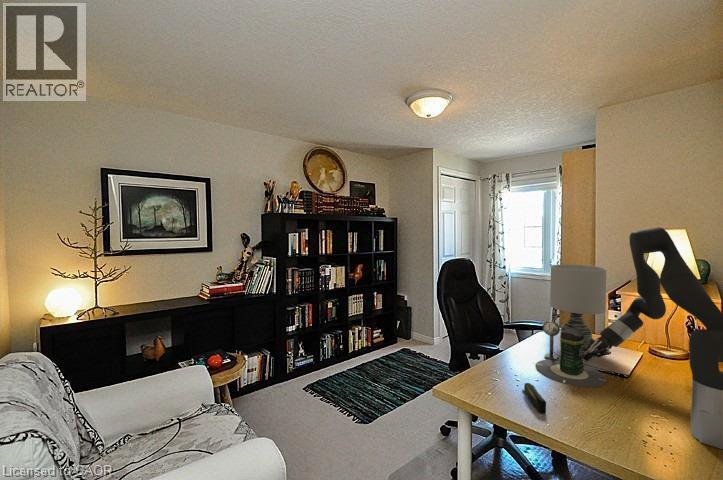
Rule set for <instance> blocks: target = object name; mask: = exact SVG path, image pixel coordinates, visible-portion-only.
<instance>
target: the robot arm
mask: <svg viewBox="0 0 723 480" xmlns="http://www.w3.org/2000/svg"><path fill="white" fill-rule="evenodd" d="M628 240H629V246H630V247H629V248H630V252H631V256H632V261H633V265H634V266H633V267H634V269H635V274H636V284H637V285H636V288H637V294H638V295H639V296H638V297H636V298H635V299H634V300H633V301H632V302H631V304H630V306H629V307H628V308H627V310H626V311H625V313H624V314H623V315H621V316H620V317H619V318H618V319H616V320H615V321H613V322H612V323H610V324H609V325H608V326H607V327H605V328H604V329H603V330H601V331H600V332H599V335H600V336H599V337H597V338H596V339H594V338H592V339H591V340H590V342H589V344H588V346H587V349H588V352H585V353H583V361H585V362H589V361H590V360H591V359H592V358H593V357H596V358H601V357H605V356H609V355H611V354H612V353H611V351H610V350H611V349H612V348H613V347H614V348H618V347H619V346H620V345H621V344H623V343H624V342H625V341H626V340H628V339H629V338H631V336H632V335H633V334H634V333H635V332H637V331H638V330H639V329H640V328H642V326H644V321H643V320H642V318H640V315H641V314H642V315H644V316H646V317H647V318H650V319H652V320H660V319H662V318H663V317H665V315H666V312H667V307H666V303H665V300H664V298H663V295H662V294H661V287H662V288H663V290H664V292H665V294H666V295H667V296H668V299H670V301H672V302H673V303H674V304H675V305H677V306H678V307H679V308H681V310H682V309H683V311H685V312H687V314H688V313H689V314H690V315H692V316H693V317H695V318H696V319H697V320H698V321H699V322H700V323H701V324H702V325H703V326H704V327H705V329H704V328H703V329H700V328H699V329H698V328H697V329H694V330H693V331H692V332H691V333H690V335H689V340H688V351H689V352H688V353H689V354H688V355H689V367H690V372H691V377H692V380H691V407H690V434H691V436H692V437H694V438H695V439H697V440H698V441H699V443H701V444H703V445H708V446H710V447H714V448H717V449H720V450H723V371H722V370H720V363H723V312H722V311H721V309H719V307H718V306H717V305H716V303H715V302H714V301H713V299H712V298H711V297H710V294H709V293H708V292H707V290H706V289H705V288H704V286H703V285H702V283H701V282H700V280H699V279H698V278H697V276H696V275H695V274H694V273H693V271H692V269H691V268H690V267H689V266H688V264H687V262H686V261H685V259H684V258H683V256H682V255H681V253H680V251H679V250H678V248H677V246H676V244H675V242H674V241H673V239H672V237H671V236H670V234H669V232H668V231H667V230H666V229H664V228H663V227H651V228H645V229H644V228H643V229H638V230H634V231H632V232H630V234H629V239H628ZM658 252H660V253H661V254H662V255H663V258H664V264H663V266H662V269H661V273H660V274H658V273H657V271H656V270H654V269H653V267H651V265H650V264H649V263H648V262H647V260H645V254H651V253H658ZM659 275H660V276H659Z"/></svg>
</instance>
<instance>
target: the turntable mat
mask: <svg viewBox="0 0 723 480" xmlns="http://www.w3.org/2000/svg"><path fill="white" fill-rule="evenodd" d="M534 365H535V366H534V367H535V370H536V371H537V372H538V373H540V374H541V375H542V376H544V377H546V378H548V379H550V380H551V381H555V382H558V383H561V384H565V385H569V386H572V387H573V386H575V387H581V388H582V387H583V388H596V387H597V388H598V387H601V386H603V385H605V384H606V383H607V378H606V376H605V375H604V374H603V373H602V372H600V371H599V370H597V369H595V368H594V367H591V366H589V367H588V365H586V366H585V364H583V365H584V371H583V372H582V373H581V374H580V375H577V376H575V375H569V374H566V373H564V372H562V371H561V370H560V359H557V360H552V359H542V360H539V361H537V362H536V363H535V364H534Z"/></svg>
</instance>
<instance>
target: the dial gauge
mask: <svg viewBox="0 0 723 480" xmlns="http://www.w3.org/2000/svg"><path fill="white" fill-rule="evenodd" d="M542 330H543V332H544V333H545V334H546V335H548V336H549V352H546V353H545V355H544V359H545V360H547V359H552V360H557V359H558V358H559V355H557V354H554V339H555V338H554V337H555V336H557V335H558V334H559V333H560V332H561V326H560V325H559V324H558V323H557V322H556V321H553V320H547V321H545V322H544V323H543V324H542ZM558 360H559V359H558Z"/></svg>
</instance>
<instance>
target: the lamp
mask: <svg viewBox="0 0 723 480" xmlns="http://www.w3.org/2000/svg"><path fill="white" fill-rule="evenodd" d="M549 290H550V296H549V297H550V298H549V299H550V300H549V301H550V302H549V305H550V307H551V308H552V309H555V310H557V311H562V312H567V313H569V318H568V320H567V321H565V322H564V323H563V324H562V325H561V326H560V332H559V333H560V335H561V332H562V331H564V330H567V329H571V328H572V329H577V330H581V331H582V332H583V333H584V345H583V351H588V349H587V346H588V344H589V342H590V340H591V339H593V331H592V329H591V327H590V326H588V324H586V323H585V322H584V318H583V317H584V315H601V314H602V315H603V314H605V313H606V309H607V308H606V306H607V305H606V302H607V268H606V267H601V266H595V265H583V264H552V265H550V289H549ZM560 345H561V340H560Z"/></svg>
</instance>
